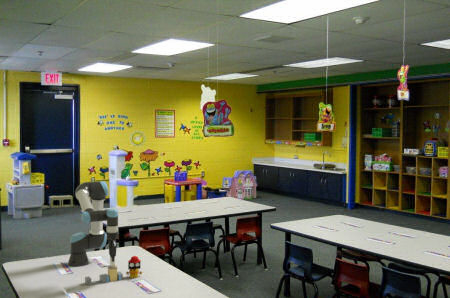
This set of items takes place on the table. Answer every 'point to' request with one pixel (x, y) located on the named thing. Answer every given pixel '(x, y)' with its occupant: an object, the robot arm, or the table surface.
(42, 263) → the table surface
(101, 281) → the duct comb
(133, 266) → the toy
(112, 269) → the tan yellow block
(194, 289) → the table surface
